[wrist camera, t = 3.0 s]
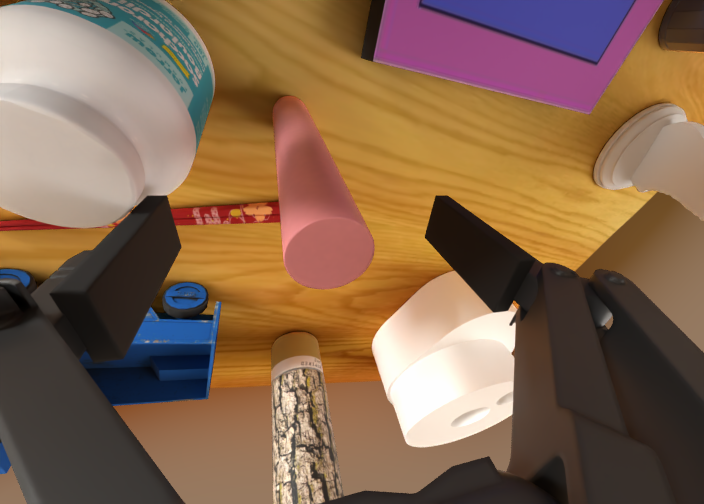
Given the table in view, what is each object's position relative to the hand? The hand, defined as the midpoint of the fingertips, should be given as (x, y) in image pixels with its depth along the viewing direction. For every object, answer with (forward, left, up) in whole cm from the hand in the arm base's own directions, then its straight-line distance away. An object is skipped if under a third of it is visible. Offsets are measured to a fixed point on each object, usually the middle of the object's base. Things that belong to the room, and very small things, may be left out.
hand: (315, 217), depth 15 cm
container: (+28, +22, -12) cm, 38 cm away
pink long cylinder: (-2, -1, -12) cm, 12 cm away
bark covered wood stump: (+29, -1, -12) cm, 31 cm away
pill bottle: (-5, -9, -11) cm, 15 cm away
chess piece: (-1, +39, -12) cm, 41 cm away
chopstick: (+7, -13, -12) cm, 18 cm away
